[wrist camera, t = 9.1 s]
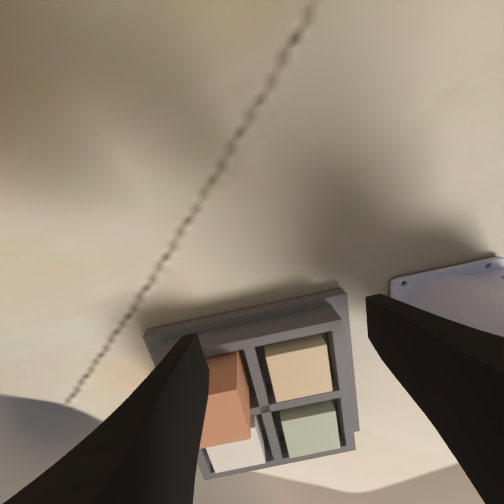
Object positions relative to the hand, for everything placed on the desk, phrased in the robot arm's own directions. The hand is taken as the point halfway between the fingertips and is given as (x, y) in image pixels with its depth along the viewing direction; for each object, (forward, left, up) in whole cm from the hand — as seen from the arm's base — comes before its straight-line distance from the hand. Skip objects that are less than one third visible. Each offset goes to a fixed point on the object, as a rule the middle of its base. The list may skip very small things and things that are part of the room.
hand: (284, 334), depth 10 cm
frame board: (+3, +12, -9) cm, 15 cm away
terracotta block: (+6, +8, -8) cm, 13 cm away
